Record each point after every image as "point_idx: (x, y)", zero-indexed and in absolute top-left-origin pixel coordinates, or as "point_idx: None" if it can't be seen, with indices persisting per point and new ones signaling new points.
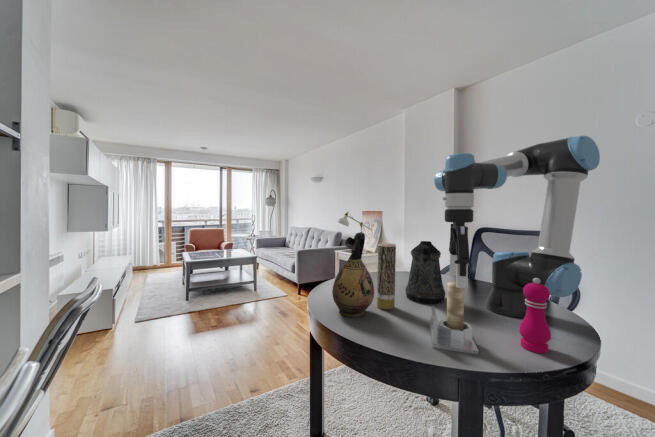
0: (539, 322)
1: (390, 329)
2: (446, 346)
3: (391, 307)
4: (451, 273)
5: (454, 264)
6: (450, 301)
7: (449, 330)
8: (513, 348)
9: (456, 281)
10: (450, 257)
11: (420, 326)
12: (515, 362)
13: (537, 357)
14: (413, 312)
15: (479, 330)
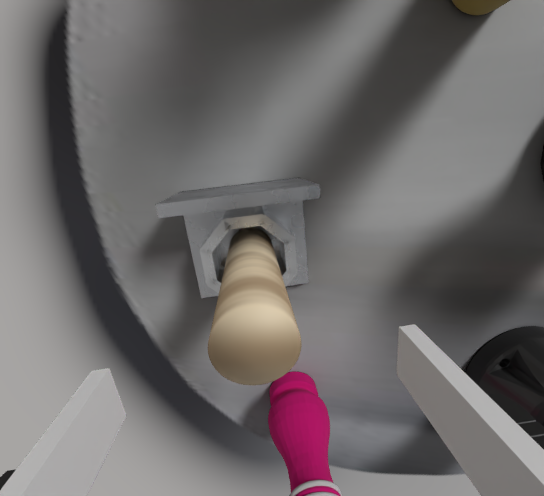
0: (283, 458)
1: (251, 37)
2: (186, 227)
3: (458, 1)
4: (406, 344)
5: (452, 421)
6: (224, 282)
7: (202, 245)
8: None
9: (77, 399)
10: (521, 464)
11: (319, 145)
12: (204, 354)
13: (249, 388)
14: (442, 108)
15: (349, 301)
